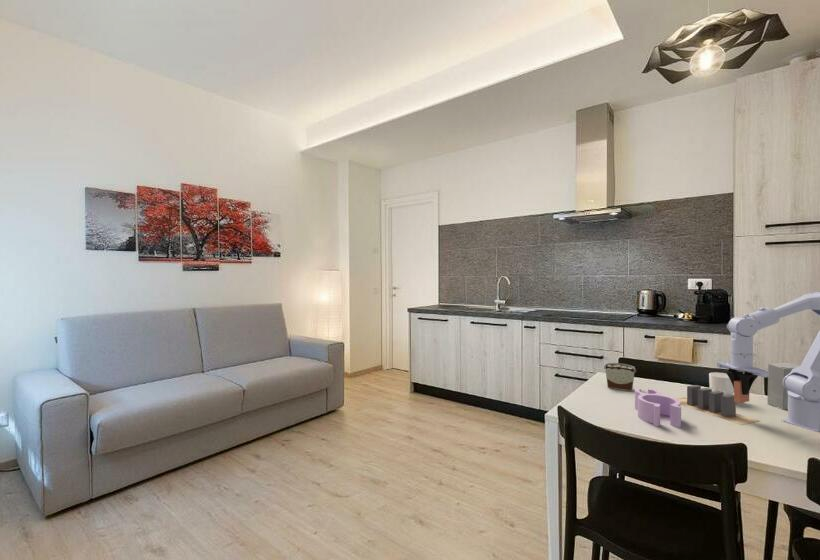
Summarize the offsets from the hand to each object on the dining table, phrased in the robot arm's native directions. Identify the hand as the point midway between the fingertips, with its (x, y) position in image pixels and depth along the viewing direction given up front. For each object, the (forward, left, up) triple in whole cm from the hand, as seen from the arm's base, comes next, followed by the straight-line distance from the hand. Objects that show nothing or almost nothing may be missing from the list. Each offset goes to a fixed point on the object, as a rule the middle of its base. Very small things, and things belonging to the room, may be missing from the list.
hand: (741, 393), depth 133 cm
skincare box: (+3, -29, -10) cm, 31 cm away
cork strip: (+10, 0, -9) cm, 14 cm away
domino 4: (+4, 0, -9) cm, 10 cm away
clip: (+13, +23, -10) cm, 28 cm away
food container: (+43, +7, -10) cm, 45 cm away
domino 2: (+12, 0, -9) cm, 15 cm away
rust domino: (0, 0, -3) cm, 3 cm away
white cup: (+16, -15, -10) cm, 24 cm away
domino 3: (+8, 0, -9) cm, 12 cm away
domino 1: (+16, 0, -9) cm, 18 cm away
